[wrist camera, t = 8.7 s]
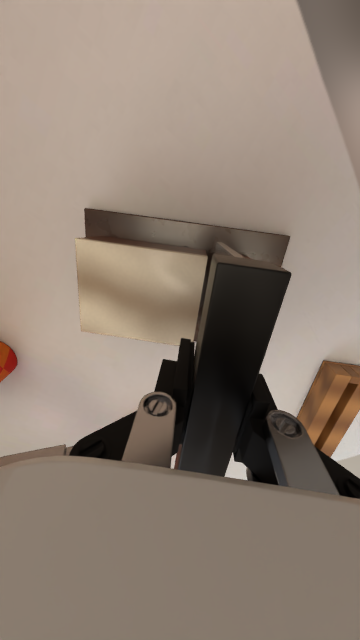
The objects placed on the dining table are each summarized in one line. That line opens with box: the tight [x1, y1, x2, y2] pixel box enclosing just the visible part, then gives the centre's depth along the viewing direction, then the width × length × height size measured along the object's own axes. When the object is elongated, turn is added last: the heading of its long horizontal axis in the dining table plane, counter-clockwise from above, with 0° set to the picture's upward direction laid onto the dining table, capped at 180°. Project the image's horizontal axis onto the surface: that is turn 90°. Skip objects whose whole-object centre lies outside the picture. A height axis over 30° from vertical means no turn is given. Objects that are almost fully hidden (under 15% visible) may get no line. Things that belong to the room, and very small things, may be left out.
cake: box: [75, 208, 290, 346], centre depth 23 cm, size 14×22×7 cm, turn 83°
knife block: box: [297, 361, 360, 457], centre depth 31 cm, size 15×5×3 cm, turn 173°
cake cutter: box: [174, 242, 291, 477], centre depth 13 cm, size 12×2×10 cm, turn 173°
